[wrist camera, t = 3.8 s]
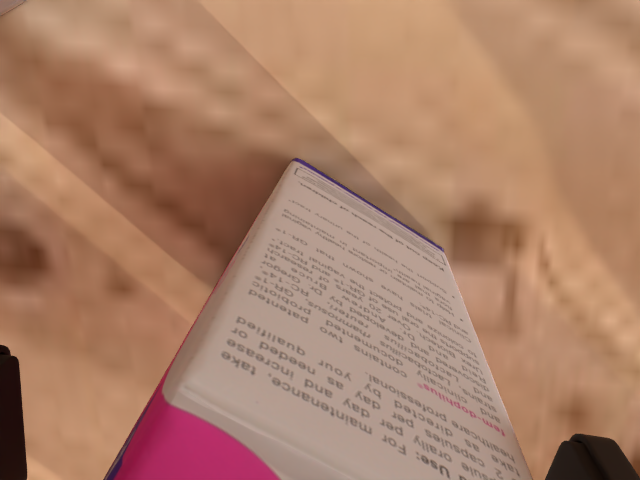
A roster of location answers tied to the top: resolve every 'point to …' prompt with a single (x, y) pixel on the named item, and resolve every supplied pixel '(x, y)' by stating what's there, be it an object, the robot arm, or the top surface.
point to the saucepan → (9, 5)
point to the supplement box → (327, 359)
